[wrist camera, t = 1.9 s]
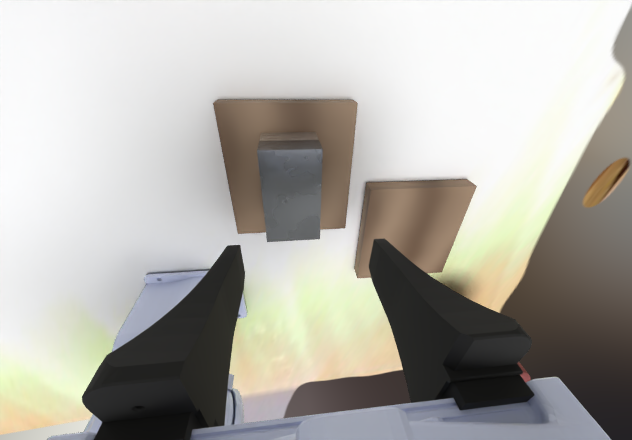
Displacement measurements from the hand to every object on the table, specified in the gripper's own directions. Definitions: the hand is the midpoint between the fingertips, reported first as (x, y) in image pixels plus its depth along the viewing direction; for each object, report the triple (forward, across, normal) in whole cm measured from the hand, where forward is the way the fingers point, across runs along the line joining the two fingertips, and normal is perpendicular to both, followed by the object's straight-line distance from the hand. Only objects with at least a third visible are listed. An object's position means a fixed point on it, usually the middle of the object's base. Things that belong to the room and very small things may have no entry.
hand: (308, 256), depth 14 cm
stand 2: (+10, -11, +6) cm, 17 cm away
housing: (+9, +1, -1) cm, 9 cm away
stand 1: (+10, +1, -1) cm, 10 cm away
